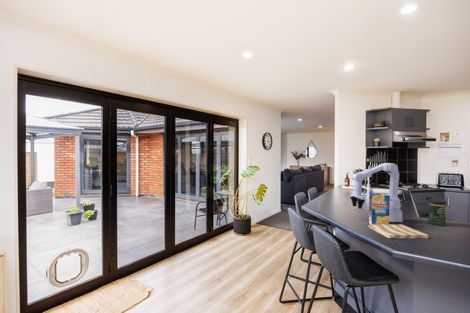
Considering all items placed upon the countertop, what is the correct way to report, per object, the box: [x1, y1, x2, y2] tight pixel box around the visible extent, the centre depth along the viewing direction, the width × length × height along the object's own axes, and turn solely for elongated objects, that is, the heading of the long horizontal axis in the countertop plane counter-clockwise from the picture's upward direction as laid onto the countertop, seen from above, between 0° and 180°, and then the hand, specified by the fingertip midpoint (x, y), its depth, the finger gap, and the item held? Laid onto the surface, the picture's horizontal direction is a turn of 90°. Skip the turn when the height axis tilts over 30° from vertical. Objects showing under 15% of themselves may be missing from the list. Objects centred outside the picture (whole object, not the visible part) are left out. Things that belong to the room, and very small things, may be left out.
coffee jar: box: [427, 198, 447, 227], centre depth 174 cm, size 10×8×19 cm
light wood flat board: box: [367, 223, 429, 239], centre depth 155 cm, size 24×22×2 cm
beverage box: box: [368, 192, 390, 225], centre depth 172 cm, size 7×11×22 cm, turn 76°
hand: (357, 207), depth 182 cm, fingers open, 7 cm apart
